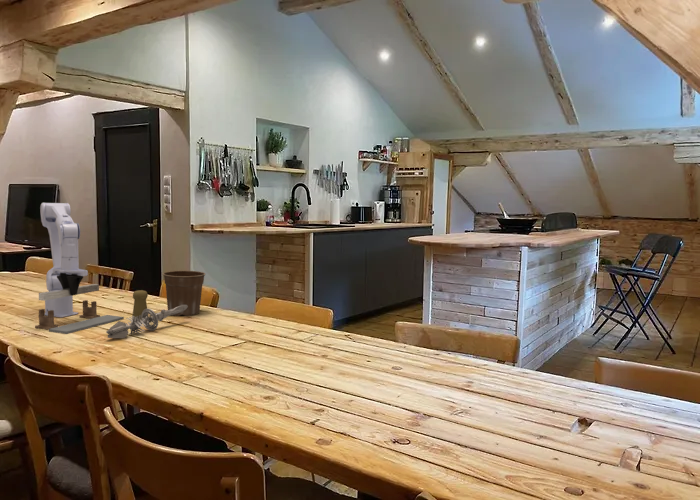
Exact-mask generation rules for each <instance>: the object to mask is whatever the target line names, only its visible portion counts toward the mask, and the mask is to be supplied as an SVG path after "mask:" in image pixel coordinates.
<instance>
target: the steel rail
mask: <svg viewBox="0 0 700 500" xmlns="http://www.w3.org/2000/svg"><path fill="white" fill-rule="evenodd" d="M98 291H100V284H99V283H98V284H97V283H91V284H85V285H79V287H78V291H77V296H78V295H83V294H89V293H94V292H98ZM67 296H72V295H71V294H70V288H66V289H60V290H54V291H48V290H47V291H43V292H39V293H38V301H43V302H45V300H50V299H56V298H61V297H67Z"/></svg>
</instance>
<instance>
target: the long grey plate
mask: <svg viewBox="0 0 700 500" xmlns="http://www.w3.org/2000/svg"><path fill="white" fill-rule="evenodd" d="M124 319H125V317H124V316H121V315H113V314H112V315H111V314H104V315H100V317H96V318H92V319H84V320H82V321H76V322H72V323H68V324H65V325H60V326H59V325H58V327H55V328H51V329H49V330H48V332H49V333H58V334H64V335H68V334H69V335H70V334H72V333H73V334H74V333H76V332H79V331H83V330H86V329H92V328H94V327H99V326H102V325H107V324H111V323H114V322H118V321H122V320H124Z"/></svg>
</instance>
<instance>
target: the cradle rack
mask: <svg viewBox="0 0 700 500" xmlns="http://www.w3.org/2000/svg"><path fill="white" fill-rule="evenodd" d="M90 304H91V305H90V306H89V301H88V300H82V314H80V315H79V318H81V319H86V320H88V319H92V318H96V317H100V316H101V315H100V314H98V313H97V310H98V309H97V301H95V300H94V301H91V303H90ZM55 327H59V325H58V324H55V316H54V310H50V311H48V316H47V315H45V308H41V309H38V324H37V325H34V328H35V329H39V330H47V331H49V329H51V328H55Z"/></svg>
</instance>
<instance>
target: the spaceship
mask: <svg viewBox="0 0 700 500" xmlns="http://www.w3.org/2000/svg"><path fill="white" fill-rule="evenodd" d="M187 307H188V306H187V305H181V306H178V307H176V308H174V309H171V310H168V309H166V310H165V308H164V309H163V308H162V309H161V311H160V312H155V311H154V310H153V309H152V308H147V309H145V310H144V311H143V312H142V315H139V318H138V316H137V317H134V316H129V317H127V318H125V319H126V320H128V322H127V323H126V322H124V321H121V320H118V321H116V323H114V324H113V325H112V326H110V327H109V328H108V329H107V330H106V332H105V333H106V335H105V337H107V338H108V339H125V338H126V337H127V336H128V334H129V330H130V335H132V334H135V333H136V334H140V333H143V332H145V331H146V330H148V331H150V332H152V331H153V332H154V331H155V330H157V329H158V326H159V322H162V321H163V320H164V319H166V318H168V317H169V316H174V315H173V314H177V313H180V312H183V311H184V310H186V309H187ZM147 316H148V317H147ZM132 317H133V318H132ZM132 319H133V320H132ZM141 319H142V320H141ZM129 321H130V322H129ZM143 328H146V330H144V329H143Z"/></svg>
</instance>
